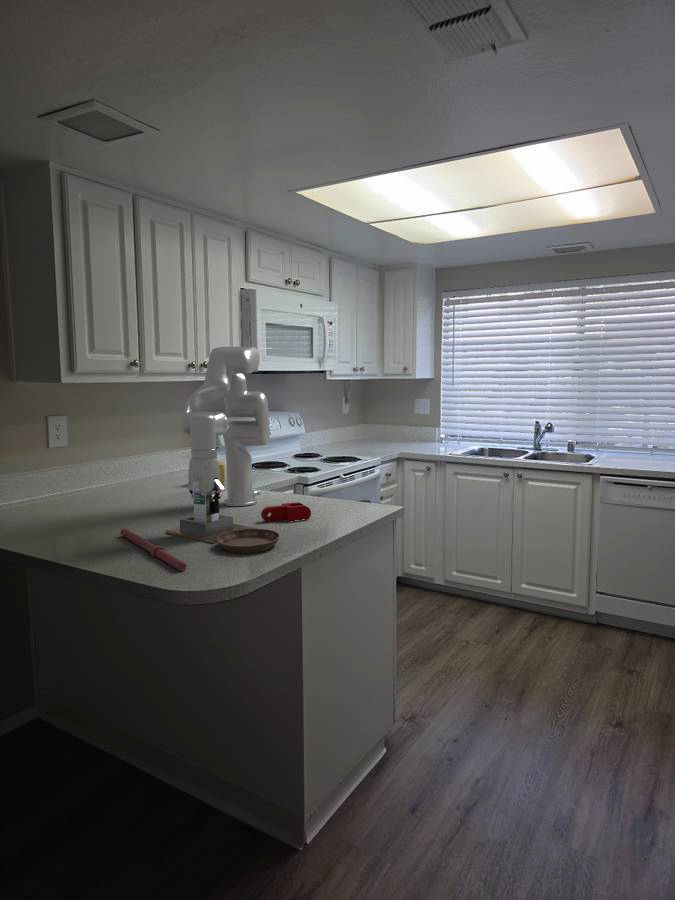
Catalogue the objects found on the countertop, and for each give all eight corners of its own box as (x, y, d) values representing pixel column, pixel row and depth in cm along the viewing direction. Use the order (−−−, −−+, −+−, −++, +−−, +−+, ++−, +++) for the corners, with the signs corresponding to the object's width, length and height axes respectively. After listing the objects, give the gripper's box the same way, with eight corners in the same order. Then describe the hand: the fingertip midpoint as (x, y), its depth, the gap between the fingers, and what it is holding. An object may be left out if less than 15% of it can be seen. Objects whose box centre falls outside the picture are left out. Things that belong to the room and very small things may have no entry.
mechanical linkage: (304, 515, 215) (303, 501, 214) (311, 520, 208) (310, 505, 208) (259, 520, 209) (259, 506, 208) (265, 525, 202) (264, 510, 202)
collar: (209, 521, 207) (209, 507, 206) (257, 530, 194) (257, 515, 193) (165, 533, 193) (165, 517, 192) (214, 543, 179) (213, 527, 179)
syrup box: (193, 528, 190) (191, 481, 188) (204, 523, 195) (202, 478, 193) (209, 529, 188) (207, 482, 186) (219, 525, 193) (218, 479, 191)
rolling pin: (188, 571, 155) (188, 559, 155) (176, 574, 153) (176, 561, 153) (129, 536, 191) (128, 526, 191) (119, 537, 189) (118, 527, 189)
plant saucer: (246, 559, 164) (245, 548, 164) (204, 548, 176) (204, 537, 175) (292, 545, 178) (292, 534, 177) (251, 535, 189) (251, 525, 189)
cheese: (202, 483, 283) (202, 461, 281) (226, 482, 284) (226, 460, 283) (200, 487, 272) (199, 464, 271) (225, 486, 274) (224, 464, 272)
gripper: (175, 454, 191) (178, 510, 193) (214, 458, 181) (216, 517, 183) (194, 451, 197) (196, 506, 199) (232, 455, 187) (235, 513, 189)
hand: (206, 511), depth 191 cm, fingers closed on syrup box, 6 cm apart
